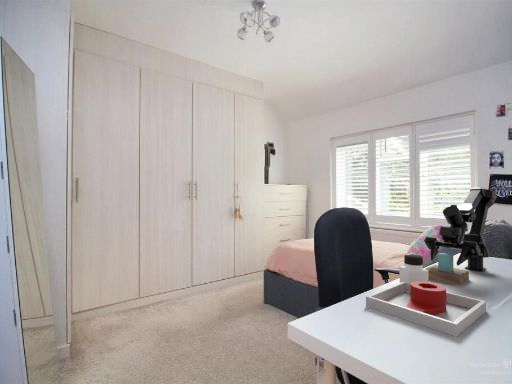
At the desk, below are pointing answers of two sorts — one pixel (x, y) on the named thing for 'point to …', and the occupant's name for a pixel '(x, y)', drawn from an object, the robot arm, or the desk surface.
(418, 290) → the red oval ring
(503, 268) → the desk surface
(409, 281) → the medicine bottle
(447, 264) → the plug
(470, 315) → the tray
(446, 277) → the brown flat block
